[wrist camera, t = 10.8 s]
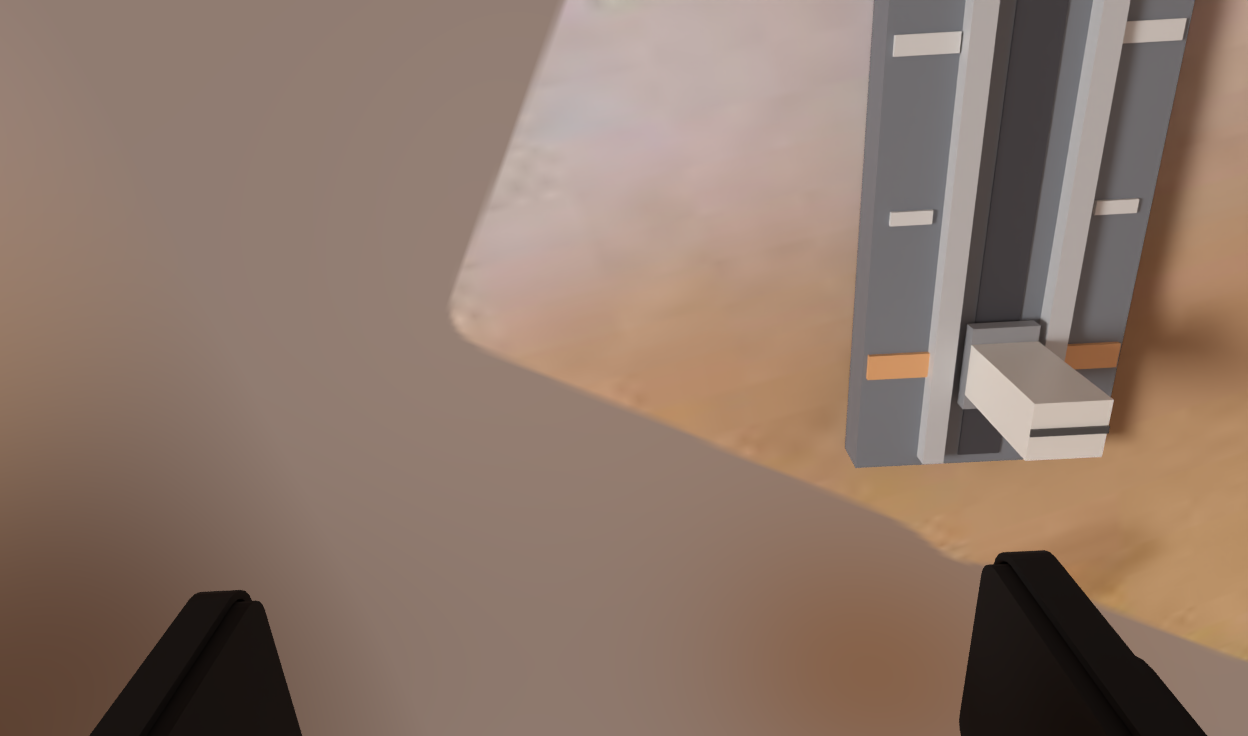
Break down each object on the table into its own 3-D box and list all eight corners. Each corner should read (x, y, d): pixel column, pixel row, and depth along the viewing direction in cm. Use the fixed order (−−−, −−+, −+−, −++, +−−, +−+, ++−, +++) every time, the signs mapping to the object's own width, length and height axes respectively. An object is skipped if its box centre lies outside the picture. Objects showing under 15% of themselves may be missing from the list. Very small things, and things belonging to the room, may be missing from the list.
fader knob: (967, 323, 36) (1039, 387, 30) (1033, 320, 36) (1119, 383, 30) (956, 402, 38) (1023, 478, 32) (1020, 399, 38) (1099, 474, 32)
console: (877, -49, 32) (899, -54, 30) (1176, -67, 32) (1224, -74, 30) (844, 447, 42) (859, 476, 39) (1077, 436, 41) (1107, 463, 39)
